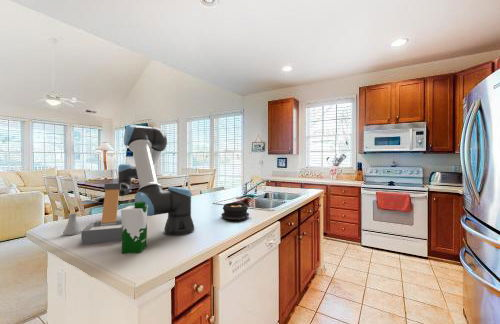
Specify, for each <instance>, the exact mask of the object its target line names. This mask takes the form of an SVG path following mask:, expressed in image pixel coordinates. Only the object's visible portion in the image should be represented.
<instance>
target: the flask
mask: <svg viewBox="0 0 500 324" xmlns="http://www.w3.org/2000/svg"><path fill="white" fill-rule="evenodd" d="M67 216H68V221H67V224H66V226H65V228H64V231H63V233H62V236H74V235H78V234H80V233H81V231H82V229H81V227H80V225H79V223H78V221H77V216H78V215H77V213H76V212H75V213H73V212H72V213H69V214H67Z"/></svg>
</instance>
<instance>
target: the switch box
mask: <svg viewBox="0 0 500 324" xmlns="http://www.w3.org/2000/svg"><path fill="white" fill-rule="evenodd" d="M101 222H102V219H101V220H95V222H91V223H89V224H88V225H87V226H86V227H84V228H83V229H81V234H80V235H81V243H80V244H81V246H82V245H91V244H101V243H112V242H120V241H121V242H122V218H118V219H117V220H116V223H106V224H102V223H101Z"/></svg>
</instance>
